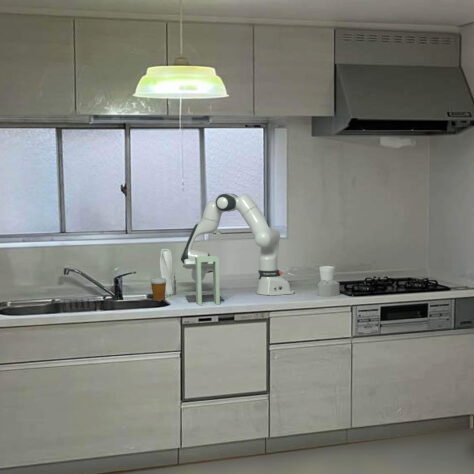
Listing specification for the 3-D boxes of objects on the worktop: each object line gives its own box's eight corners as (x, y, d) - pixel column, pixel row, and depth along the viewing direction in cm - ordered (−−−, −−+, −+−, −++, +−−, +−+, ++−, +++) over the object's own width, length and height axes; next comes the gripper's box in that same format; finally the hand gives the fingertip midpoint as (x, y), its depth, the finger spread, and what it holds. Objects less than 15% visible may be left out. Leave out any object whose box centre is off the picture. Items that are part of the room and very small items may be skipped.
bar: (199, 260, 427) (199, 256, 427) (203, 260, 428) (203, 256, 427) (203, 264, 408) (203, 259, 408) (207, 264, 409) (207, 259, 409)
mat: (218, 295, 432) (218, 294, 432) (224, 300, 411) (224, 299, 411) (185, 296, 428) (185, 295, 428) (188, 302, 408) (188, 301, 408)
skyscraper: (169, 296, 430) (168, 249, 428) (158, 295, 434) (156, 248, 431) (176, 294, 438) (175, 248, 435) (165, 293, 441) (164, 247, 439)
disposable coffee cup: (160, 301, 412) (159, 280, 411) (147, 300, 418) (146, 279, 416) (170, 298, 421) (170, 278, 419) (157, 297, 426) (157, 277, 425)
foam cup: (333, 288, 448) (333, 268, 447) (318, 288, 450) (318, 267, 449) (334, 286, 457) (334, 266, 456) (320, 286, 459) (320, 266, 458)
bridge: (217, 301, 409) (216, 255, 407) (219, 304, 400) (218, 257, 397) (196, 302, 408) (195, 256, 405) (198, 305, 398) (197, 258, 395)
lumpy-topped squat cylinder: (341, 295, 425) (341, 280, 424) (324, 297, 418) (324, 282, 418) (330, 292, 434) (330, 278, 433) (313, 295, 427) (313, 280, 426)
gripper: (182, 262, 436) (184, 253, 423) (216, 262, 439) (218, 252, 426) (183, 272, 433) (184, 263, 421) (216, 271, 436) (219, 262, 424)
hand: (202, 258), depth 423 cm, fingers closed on bar, 2 cm apart
